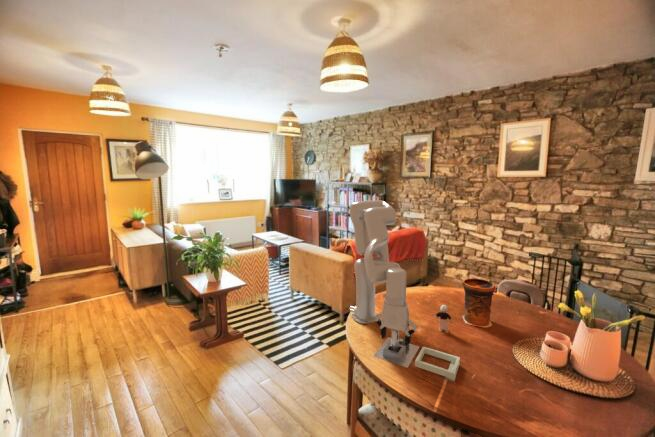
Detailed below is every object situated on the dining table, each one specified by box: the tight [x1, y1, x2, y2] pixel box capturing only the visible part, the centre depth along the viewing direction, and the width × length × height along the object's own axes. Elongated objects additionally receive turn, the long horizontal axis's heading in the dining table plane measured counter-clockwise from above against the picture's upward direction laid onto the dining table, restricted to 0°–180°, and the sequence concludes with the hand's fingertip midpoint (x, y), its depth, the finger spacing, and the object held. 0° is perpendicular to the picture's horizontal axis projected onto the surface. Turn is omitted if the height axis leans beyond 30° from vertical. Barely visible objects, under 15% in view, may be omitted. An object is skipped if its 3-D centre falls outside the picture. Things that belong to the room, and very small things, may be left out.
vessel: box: [461, 277, 496, 329], centre depth 146 cm, size 14×14×20 cm
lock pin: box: [390, 329, 400, 353], centre depth 119 cm, size 4×4×13 cm
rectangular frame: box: [414, 345, 461, 383], centre depth 114 cm, size 14×11×3 cm
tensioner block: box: [373, 336, 420, 369], centre depth 123 cm, size 14×16×4 cm
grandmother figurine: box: [434, 304, 453, 334], centre depth 139 cm, size 8×4×13 cm, turn 71°
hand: (395, 340), depth 119 cm, fingers open, 9 cm apart
